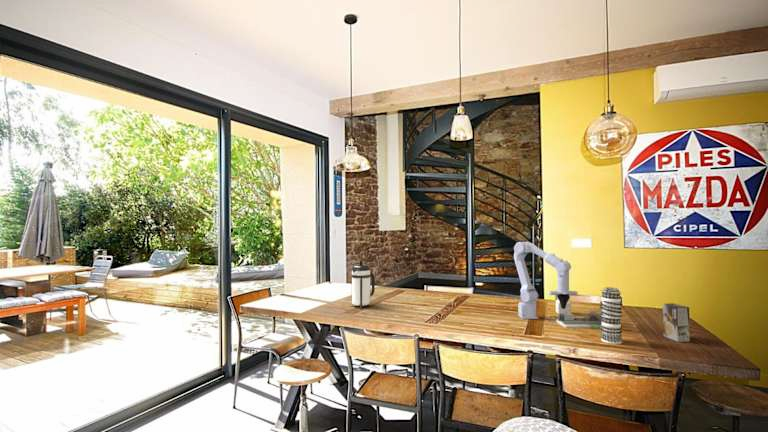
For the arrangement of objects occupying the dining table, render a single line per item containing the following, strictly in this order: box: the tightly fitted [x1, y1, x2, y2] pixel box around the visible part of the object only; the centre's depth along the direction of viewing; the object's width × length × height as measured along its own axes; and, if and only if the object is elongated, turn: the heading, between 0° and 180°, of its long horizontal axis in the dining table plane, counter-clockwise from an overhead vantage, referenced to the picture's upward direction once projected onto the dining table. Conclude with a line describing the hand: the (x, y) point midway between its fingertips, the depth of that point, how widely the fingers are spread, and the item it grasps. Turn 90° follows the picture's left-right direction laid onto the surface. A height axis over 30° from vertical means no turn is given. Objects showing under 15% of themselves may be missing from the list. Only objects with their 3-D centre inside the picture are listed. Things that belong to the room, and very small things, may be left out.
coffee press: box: [350, 260, 376, 310], centre depth 256 cm, size 17×16×30 cm
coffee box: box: [662, 302, 691, 343], centre depth 185 cm, size 9×6×16 cm
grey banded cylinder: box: [599, 286, 623, 345], centre depth 182 cm, size 9×9×25 cm
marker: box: [584, 312, 595, 321], centre depth 210 cm, size 3×5×4 cm, turn 179°
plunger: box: [559, 312, 578, 322], centre depth 210 cm, size 8×5×4 cm, turn 89°
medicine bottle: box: [555, 298, 572, 315], centre depth 235 cm, size 7×7×12 cm
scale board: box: [555, 310, 602, 329], centre depth 210 cm, size 20×12×6 cm, turn 89°
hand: (563, 308), depth 210 cm, fingers closed
